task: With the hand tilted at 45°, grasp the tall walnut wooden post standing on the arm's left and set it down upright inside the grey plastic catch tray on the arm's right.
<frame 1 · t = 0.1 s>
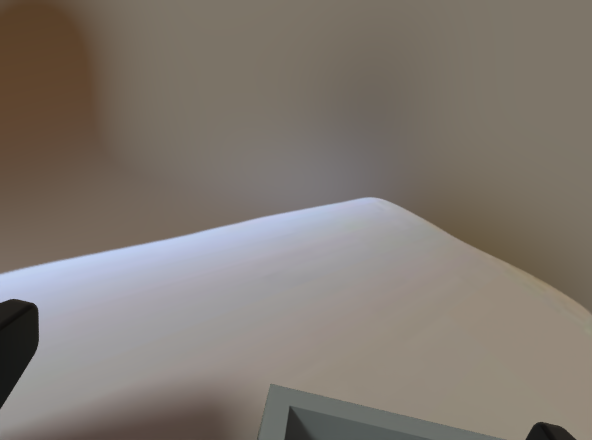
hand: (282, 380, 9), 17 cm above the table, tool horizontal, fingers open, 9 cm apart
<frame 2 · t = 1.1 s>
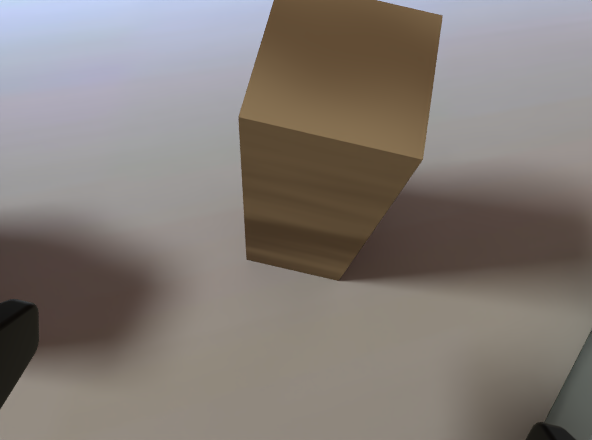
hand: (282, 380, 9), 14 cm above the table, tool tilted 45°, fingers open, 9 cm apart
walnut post: (302, 226, 24), on the table
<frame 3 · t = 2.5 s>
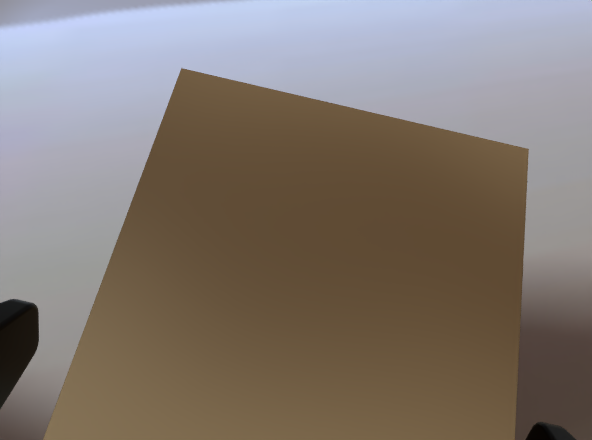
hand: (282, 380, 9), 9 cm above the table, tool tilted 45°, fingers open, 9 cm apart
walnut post: (274, 364, 17), on the table
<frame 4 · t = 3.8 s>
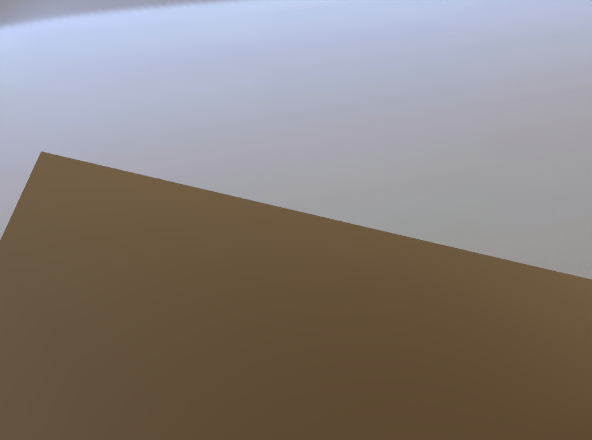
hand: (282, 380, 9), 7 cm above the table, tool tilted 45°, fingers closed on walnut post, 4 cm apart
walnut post: (259, 437, 14), on the table, touching gripper
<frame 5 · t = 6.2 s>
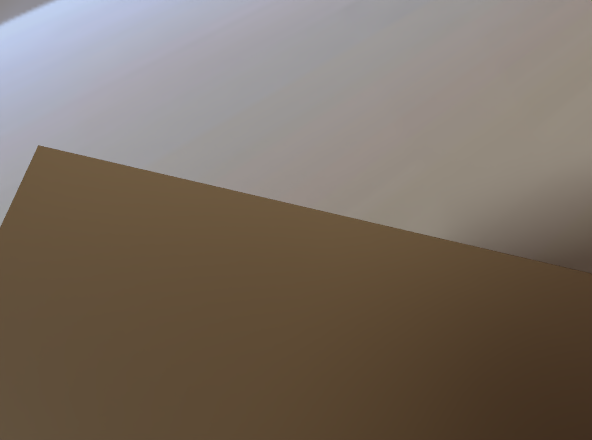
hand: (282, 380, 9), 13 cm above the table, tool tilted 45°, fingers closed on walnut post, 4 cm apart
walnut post: (259, 435, 14), point 7 cm above the table, touching gripper
when the fingers open (9 cm above the table, at t = 8.4 s): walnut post drops 1 cm, resting on catch tray.
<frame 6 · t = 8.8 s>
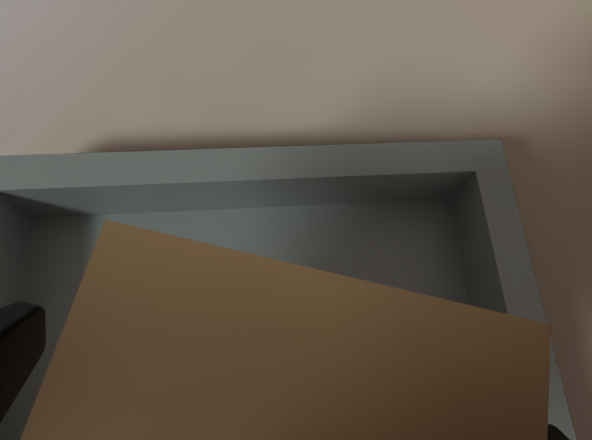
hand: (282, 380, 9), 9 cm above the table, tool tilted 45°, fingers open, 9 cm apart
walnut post: (260, 433, 16), point 1 cm above the table, touching catch tray
catch tray: (259, 432, 17), on the table
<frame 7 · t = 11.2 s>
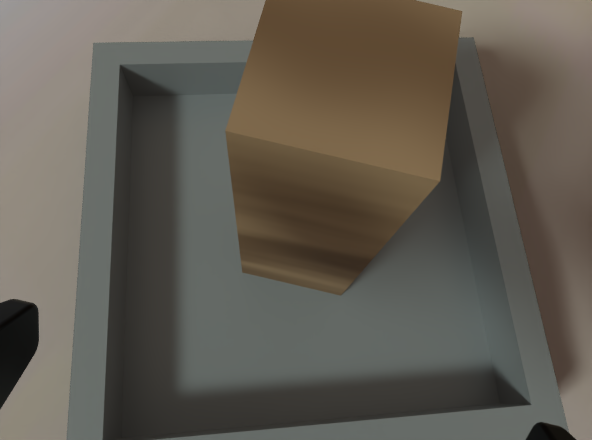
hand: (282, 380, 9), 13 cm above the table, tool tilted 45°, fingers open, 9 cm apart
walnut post: (302, 237, 22), point 1 cm above the table, touching catch tray
catch tray: (300, 243, 23), on the table
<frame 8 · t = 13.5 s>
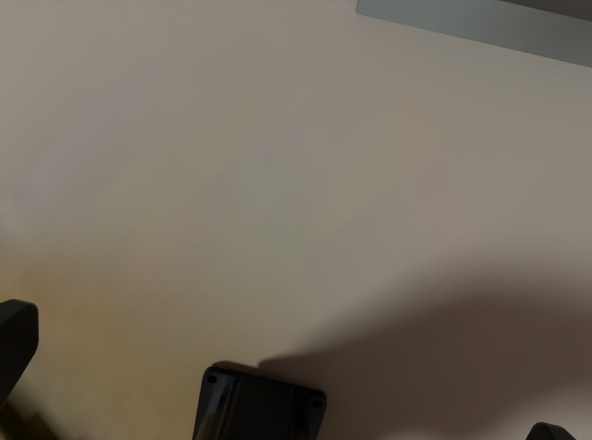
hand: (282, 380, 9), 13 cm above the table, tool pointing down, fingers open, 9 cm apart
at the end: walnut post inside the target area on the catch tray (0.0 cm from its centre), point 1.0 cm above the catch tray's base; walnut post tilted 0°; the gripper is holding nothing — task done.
